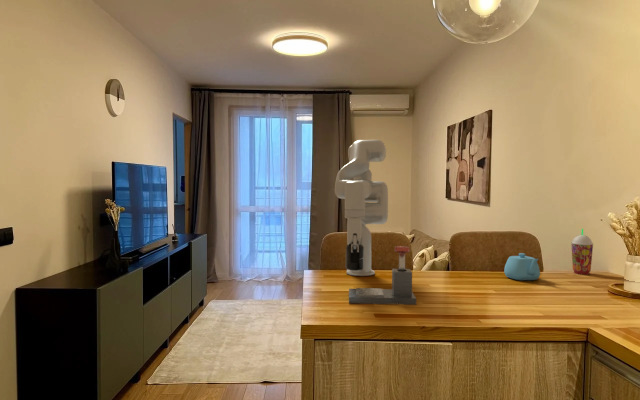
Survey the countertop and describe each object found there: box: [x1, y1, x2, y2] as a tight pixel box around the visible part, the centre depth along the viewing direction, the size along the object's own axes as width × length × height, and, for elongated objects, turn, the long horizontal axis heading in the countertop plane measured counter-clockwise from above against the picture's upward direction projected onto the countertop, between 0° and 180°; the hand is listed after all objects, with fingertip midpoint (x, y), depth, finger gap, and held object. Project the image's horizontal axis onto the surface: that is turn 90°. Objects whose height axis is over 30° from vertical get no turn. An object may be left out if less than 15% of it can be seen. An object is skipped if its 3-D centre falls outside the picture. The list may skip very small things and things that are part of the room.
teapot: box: [503, 252, 541, 281], centre depth 177 cm, size 13×11×18 cm
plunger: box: [394, 245, 410, 271], centre depth 144 cm, size 5×5×12 cm
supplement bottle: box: [345, 240, 364, 271], centre depth 160 cm, size 7×7×12 cm
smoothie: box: [570, 228, 594, 276], centre depth 189 cm, size 8×8×20 cm
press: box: [348, 268, 417, 305], centre depth 145 cm, size 12×22×10 cm, turn 86°
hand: (354, 260), depth 161 cm, fingers closed on supplement bottle, 6 cm apart
